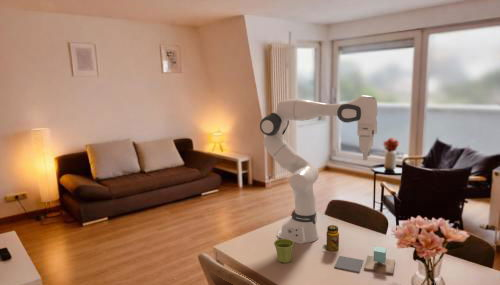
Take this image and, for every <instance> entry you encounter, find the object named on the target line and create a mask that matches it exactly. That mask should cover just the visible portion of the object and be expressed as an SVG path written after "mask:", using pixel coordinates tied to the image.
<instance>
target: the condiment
mask: <svg viewBox="0 0 500 285" xmlns="http://www.w3.org/2000/svg"><path fill="white" fill-rule="evenodd" d="M326 230H327V231H326V244H322V249H321V252H326V253H332V254H333V253H334V254H339V253H340V251H341V250H340V248H341V246H340V232H339V227H338V226H337V225H334V224H331V225H328V226H327V229H326Z"/></svg>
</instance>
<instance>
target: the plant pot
mask: <svg viewBox="0 0 500 285" xmlns="http://www.w3.org/2000/svg"><path fill="white" fill-rule="evenodd" d="M294 244H295V242H293V241H292V240H289V239H281V238H278V239H277V240H275V241H274V242H273V245H274V247H275V250H276V256H277V261H278V262H279V263H283V264H284V263H290V262H291V260H292V252H293V248H294Z"/></svg>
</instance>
